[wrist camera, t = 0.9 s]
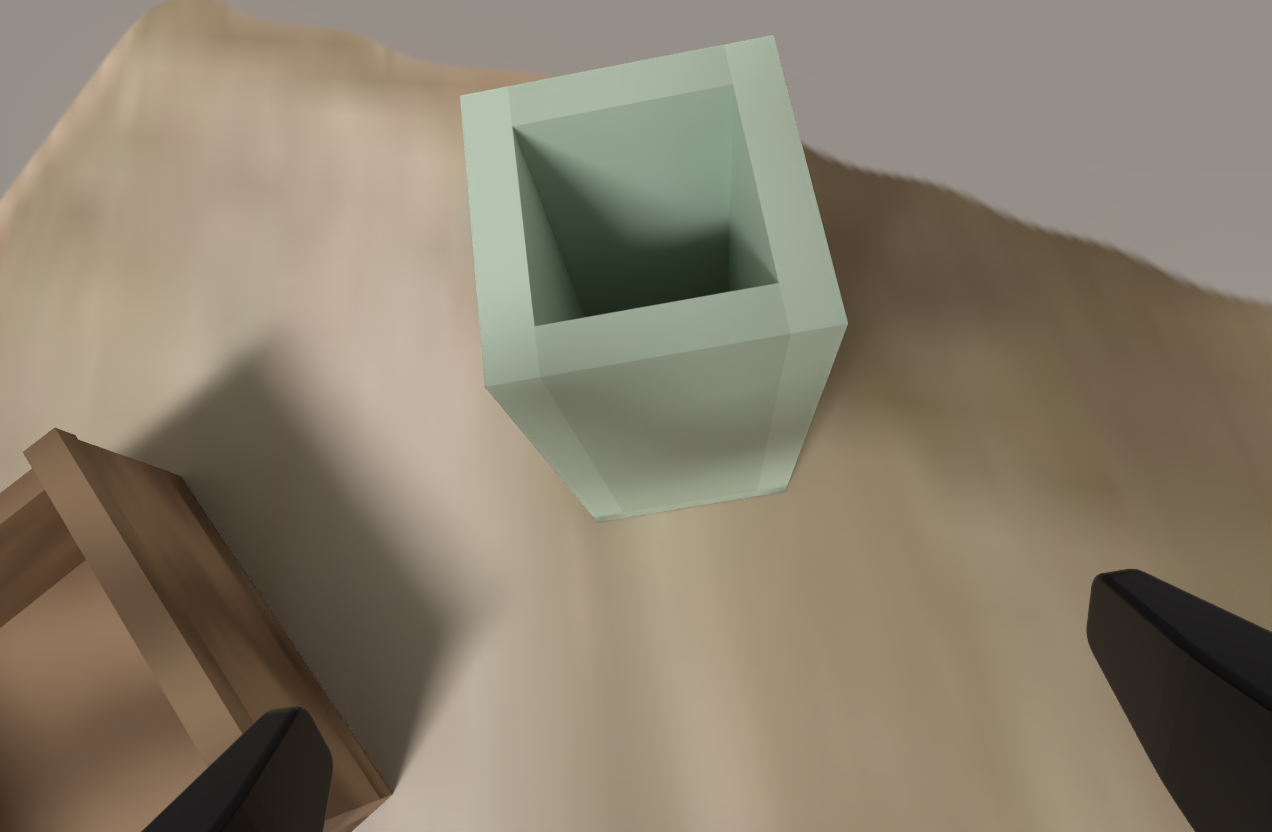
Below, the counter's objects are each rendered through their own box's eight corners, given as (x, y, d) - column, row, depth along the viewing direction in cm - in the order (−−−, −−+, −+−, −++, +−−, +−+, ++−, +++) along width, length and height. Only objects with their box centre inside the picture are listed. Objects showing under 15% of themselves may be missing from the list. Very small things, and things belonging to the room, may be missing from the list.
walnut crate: (395, 791, 22) (300, 828, 17) (8, 1142, 20) (-224, 1296, 15) (182, 473, 25) (54, 427, 21) (-158, 745, 24) (-387, 765, 19)
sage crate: (785, 491, 23) (848, 323, 12) (597, 521, 24) (484, 386, 12) (748, 320, 25) (773, 34, 14) (575, 351, 25) (459, 95, 14)
